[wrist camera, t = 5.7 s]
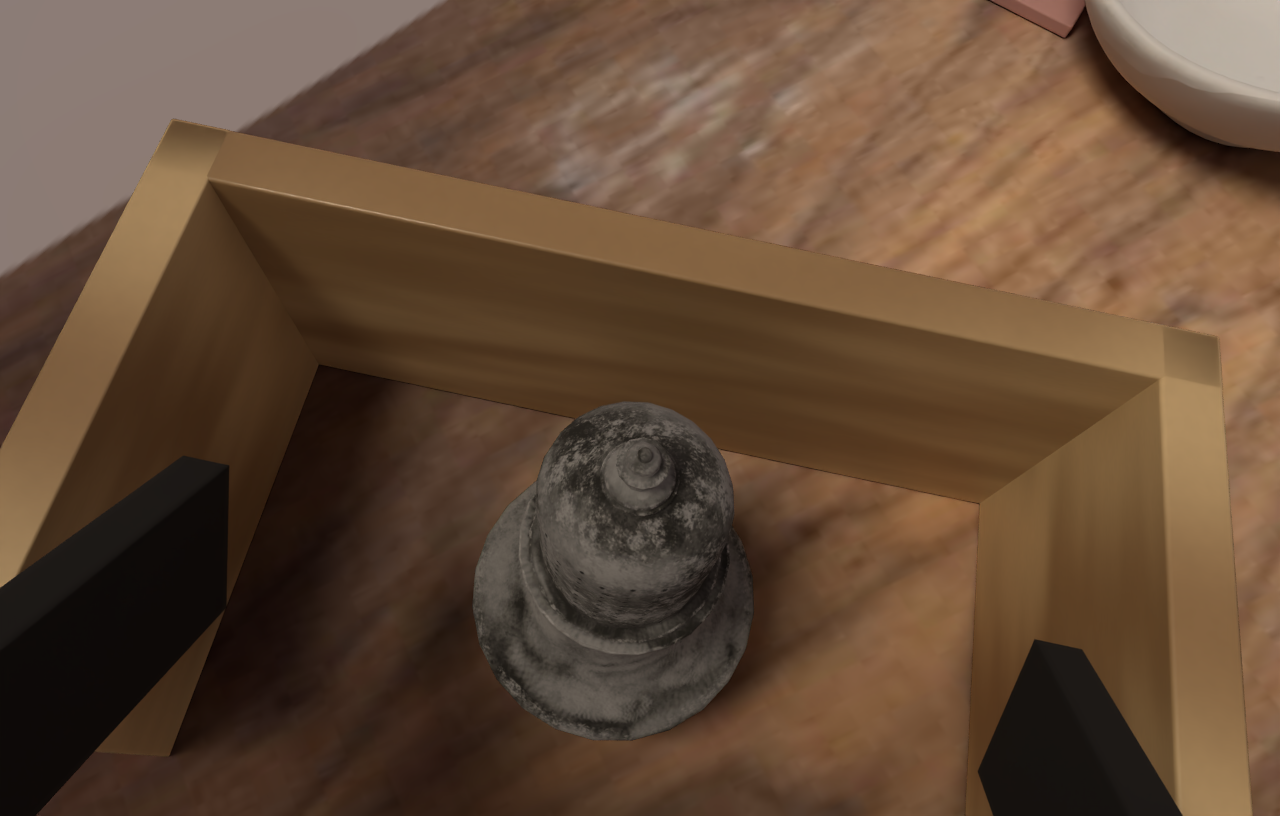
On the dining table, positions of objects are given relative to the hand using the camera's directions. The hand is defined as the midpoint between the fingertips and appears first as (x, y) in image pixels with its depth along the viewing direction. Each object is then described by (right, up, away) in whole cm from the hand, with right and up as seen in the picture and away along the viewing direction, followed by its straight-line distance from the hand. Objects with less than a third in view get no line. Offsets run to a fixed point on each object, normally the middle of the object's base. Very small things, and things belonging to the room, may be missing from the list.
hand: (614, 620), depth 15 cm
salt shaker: (0, -2, +8) cm, 8 cm away
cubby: (0, -2, +7) cm, 8 cm away
